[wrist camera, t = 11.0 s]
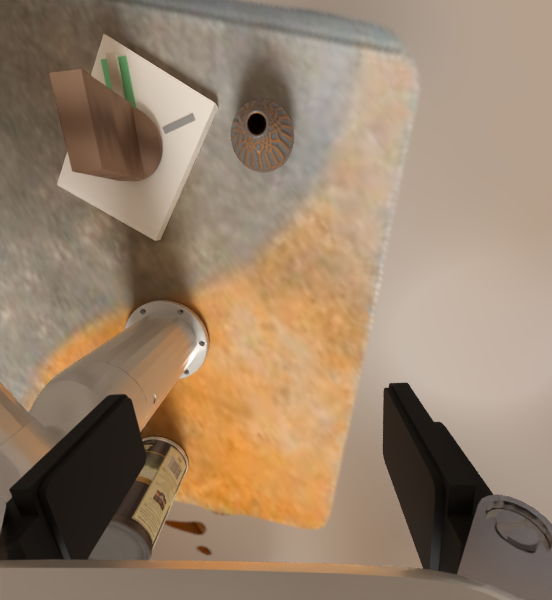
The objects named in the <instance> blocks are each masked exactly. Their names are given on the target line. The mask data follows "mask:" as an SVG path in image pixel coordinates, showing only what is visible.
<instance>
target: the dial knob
mask: <svg viewBox="0 0 552 600" xmlns="http://www.w3.org/2000/svg"><path fill="white" fill-rule="evenodd" d="M106 58H107V64H108V69H109V74H110V80H111V85H112V90H111V89H110V88H108V87H107V86H105V85H104V84H102V83H101V82H99V81H98V80H97V79H95V78H94V77H92V76H91V75H89V74H88V73H86V72H85V71H83V70H82V69H76V70H67V71H58V72H50V73H49V75H50V80H51V84H52V88H53V92H54V97H55V101H56V105H57V109H58V113H59V118H60V122H61V126H62V130H63V135H64V139H65V143H66V147H67V152H68V156H69V160H70V164H71V169H72V172H77V173H82V174H87V175H92V176H97V177H102V178H107V179H112V180H117V181H140V180H144V179H146V178H148V177H149V176H151V175H152V174H153V173H154V172H155V171H156V169H157V168H158V166H159V164H160V161H161V158H162V140H161V136H160V133H159V131H158V129H157V127H156V125H155V124H154V122H153V121H152V120H151V119H150V118H149V117H148V116H147V115H146V114H144V113H143V112H142V111H140V110H138V109H137V108H134V107H132V103H130V102H129V101H127V100H126V99H125V94H124V89H123V83H122V78H121V72H120V66H119V61H118V55H117V54H116V53H115V52H112V53H106Z"/></svg>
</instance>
